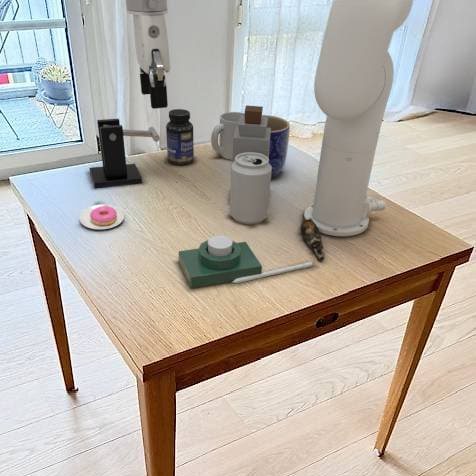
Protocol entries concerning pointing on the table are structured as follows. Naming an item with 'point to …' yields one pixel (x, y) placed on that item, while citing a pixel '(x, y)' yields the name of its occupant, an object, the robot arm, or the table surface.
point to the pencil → (273, 272)
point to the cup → (225, 134)
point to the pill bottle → (179, 137)
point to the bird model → (312, 237)
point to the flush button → (220, 246)
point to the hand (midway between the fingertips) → (154, 100)
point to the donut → (101, 216)
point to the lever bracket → (113, 158)
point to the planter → (278, 142)
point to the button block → (218, 265)
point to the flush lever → (140, 133)
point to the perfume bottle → (252, 133)
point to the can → (250, 187)
